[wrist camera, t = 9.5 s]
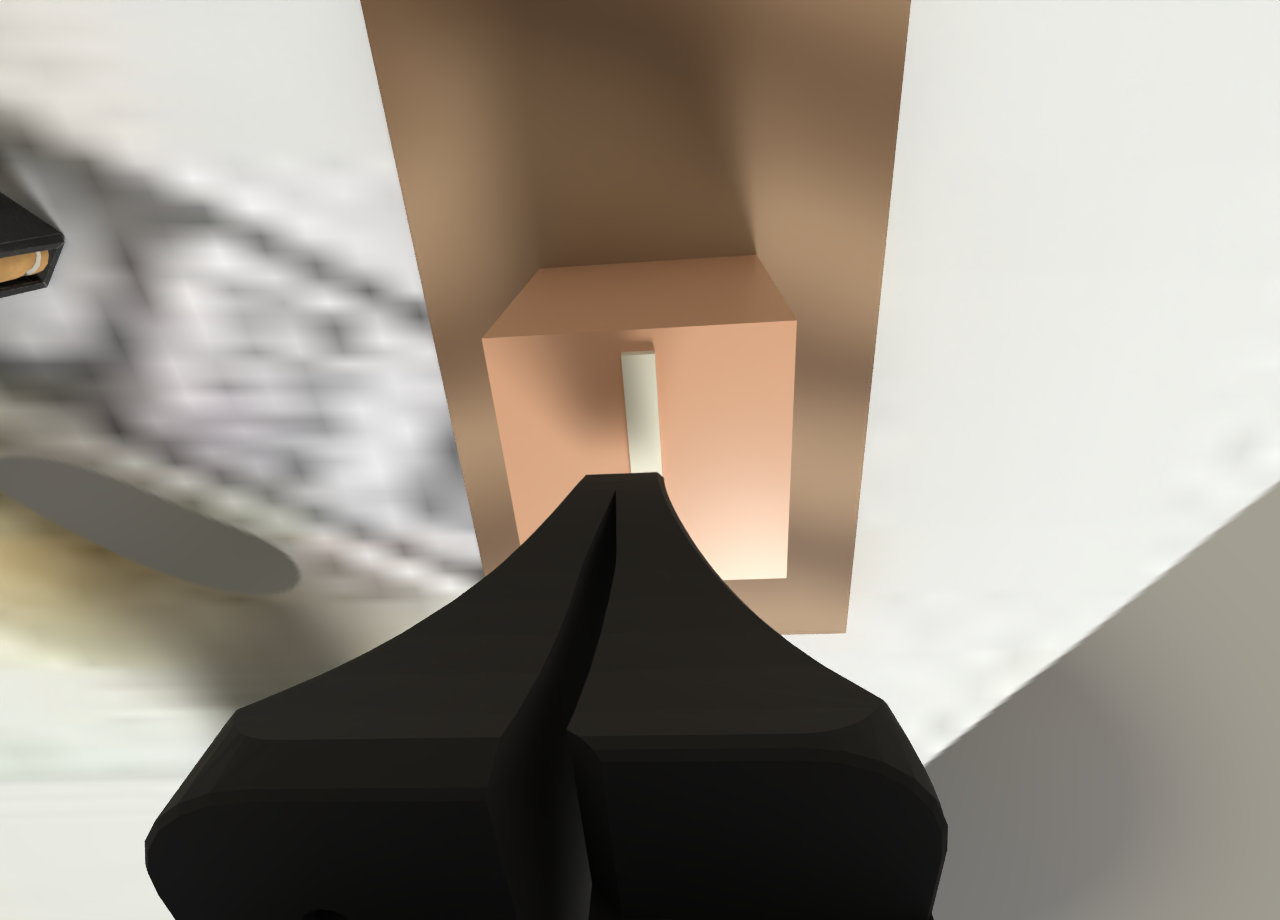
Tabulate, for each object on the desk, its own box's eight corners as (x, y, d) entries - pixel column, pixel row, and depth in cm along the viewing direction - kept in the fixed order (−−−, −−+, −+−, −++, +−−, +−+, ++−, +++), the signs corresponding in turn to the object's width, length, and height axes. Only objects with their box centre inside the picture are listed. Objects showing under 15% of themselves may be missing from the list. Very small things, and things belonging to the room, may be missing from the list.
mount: (835, 604, 24) (878, 730, 19) (508, 612, 25) (468, 735, 20) (900, -108, 15) (1016, -217, 10) (372, -58, 15) (234, -137, 10)
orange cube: (539, 268, 17) (478, 342, 12) (756, 254, 17) (798, 323, 11) (565, 458, 20) (526, 592, 14) (754, 450, 19) (787, 583, 14)
